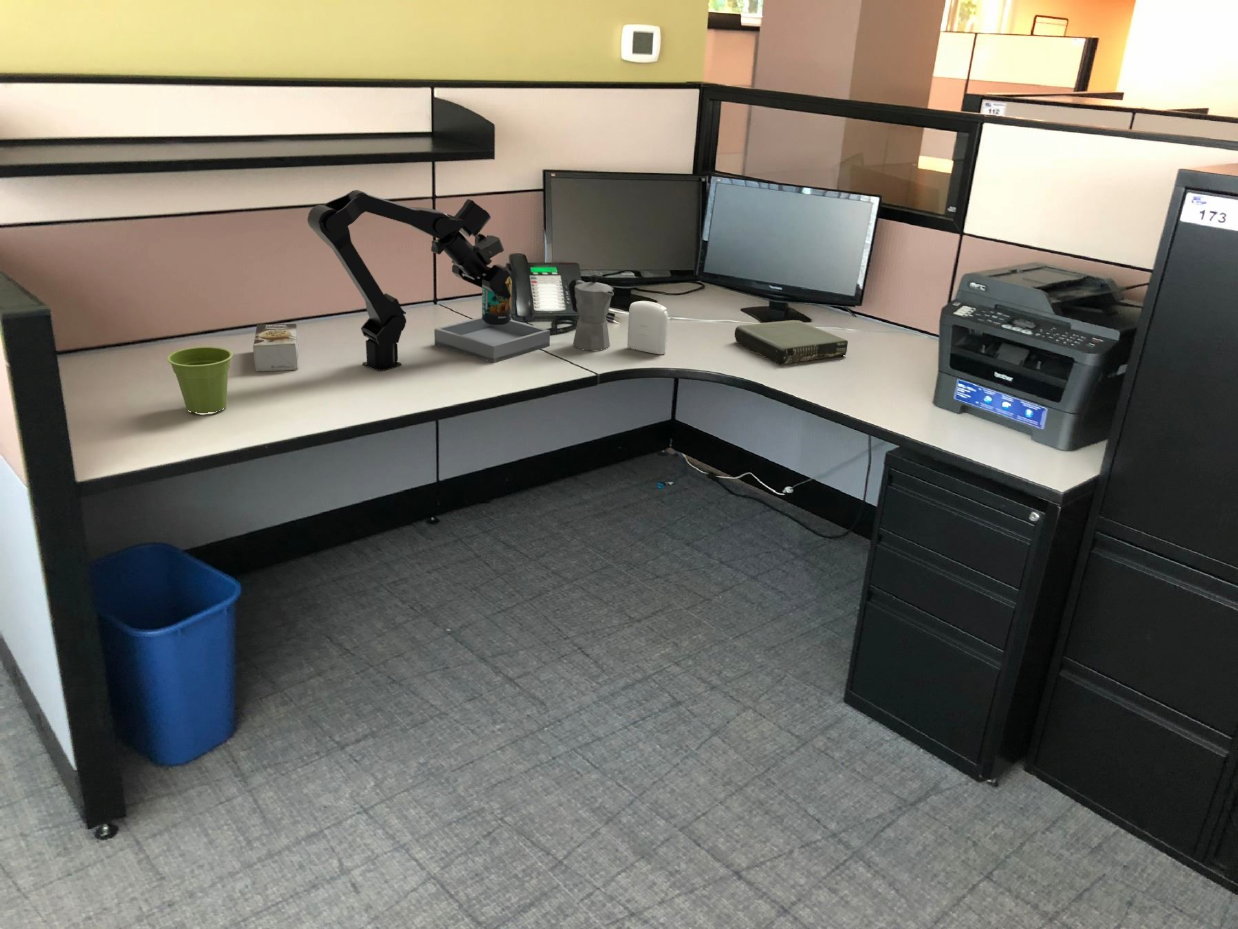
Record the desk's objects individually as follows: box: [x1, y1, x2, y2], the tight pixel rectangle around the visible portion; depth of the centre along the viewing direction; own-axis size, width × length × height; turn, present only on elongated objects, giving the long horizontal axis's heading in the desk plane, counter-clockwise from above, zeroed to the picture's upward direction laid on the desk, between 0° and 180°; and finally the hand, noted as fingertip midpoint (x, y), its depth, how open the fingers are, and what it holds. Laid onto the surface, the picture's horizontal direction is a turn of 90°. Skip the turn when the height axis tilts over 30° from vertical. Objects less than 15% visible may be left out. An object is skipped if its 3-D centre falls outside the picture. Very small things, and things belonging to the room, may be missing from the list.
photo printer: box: [626, 300, 669, 355], centre depth 251 cm, size 10×4×12 cm, turn 60°
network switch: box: [734, 319, 849, 366], centre depth 260 cm, size 23×24×5 cm
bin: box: [434, 316, 551, 364], centre depth 250 cm, size 20×20×4 cm
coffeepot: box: [567, 274, 615, 352], centre depth 252 cm, size 15×9×18 cm, turn 45°
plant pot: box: [166, 346, 234, 413], centre depth 199 cm, size 12×12×11 cm
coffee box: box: [252, 323, 300, 372], centre depth 230 cm, size 9×6×16 cm
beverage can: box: [481, 276, 513, 325], centre depth 244 cm, size 7×7×12 cm
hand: (501, 293), depth 245 cm, fingers closed on beverage can, 7 cm apart
